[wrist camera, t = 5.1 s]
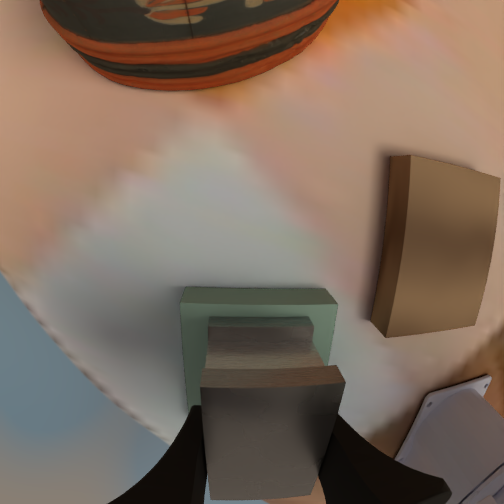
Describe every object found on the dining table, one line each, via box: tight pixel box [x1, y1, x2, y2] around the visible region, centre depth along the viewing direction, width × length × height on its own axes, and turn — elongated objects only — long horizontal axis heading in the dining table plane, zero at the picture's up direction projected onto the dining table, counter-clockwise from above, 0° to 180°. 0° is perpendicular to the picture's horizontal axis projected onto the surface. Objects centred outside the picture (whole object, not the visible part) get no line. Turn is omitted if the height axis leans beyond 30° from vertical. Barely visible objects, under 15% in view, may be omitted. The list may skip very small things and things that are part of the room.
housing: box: [200, 316, 346, 500], centre depth 11 cm, size 7×4×5 cm, turn 178°
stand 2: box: [371, 155, 500, 338], centre depth 14 cm, size 9×7×2 cm
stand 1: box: [180, 287, 338, 412], centre depth 15 cm, size 9×7×2 cm
